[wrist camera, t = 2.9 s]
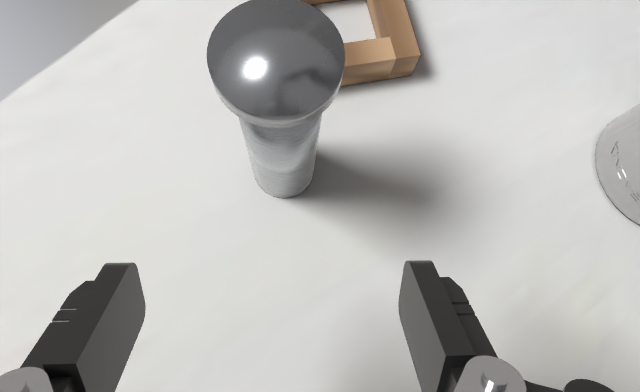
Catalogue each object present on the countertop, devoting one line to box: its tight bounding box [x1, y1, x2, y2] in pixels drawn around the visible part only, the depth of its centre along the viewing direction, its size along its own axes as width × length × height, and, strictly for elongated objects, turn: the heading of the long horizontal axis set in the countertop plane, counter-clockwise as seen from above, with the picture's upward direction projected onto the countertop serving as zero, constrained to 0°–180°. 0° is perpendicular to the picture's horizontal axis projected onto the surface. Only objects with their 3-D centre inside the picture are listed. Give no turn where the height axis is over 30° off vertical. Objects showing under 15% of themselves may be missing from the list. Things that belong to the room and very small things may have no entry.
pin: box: [207, 0, 345, 198], centre depth 22 cm, size 5×5×13 cm
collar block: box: [300, 0, 421, 86], centre depth 30 cm, size 9×9×2 cm
